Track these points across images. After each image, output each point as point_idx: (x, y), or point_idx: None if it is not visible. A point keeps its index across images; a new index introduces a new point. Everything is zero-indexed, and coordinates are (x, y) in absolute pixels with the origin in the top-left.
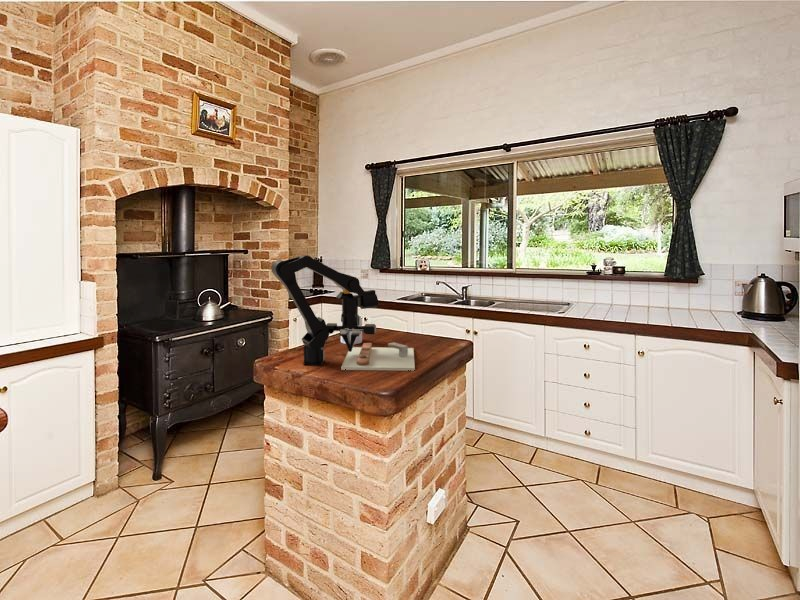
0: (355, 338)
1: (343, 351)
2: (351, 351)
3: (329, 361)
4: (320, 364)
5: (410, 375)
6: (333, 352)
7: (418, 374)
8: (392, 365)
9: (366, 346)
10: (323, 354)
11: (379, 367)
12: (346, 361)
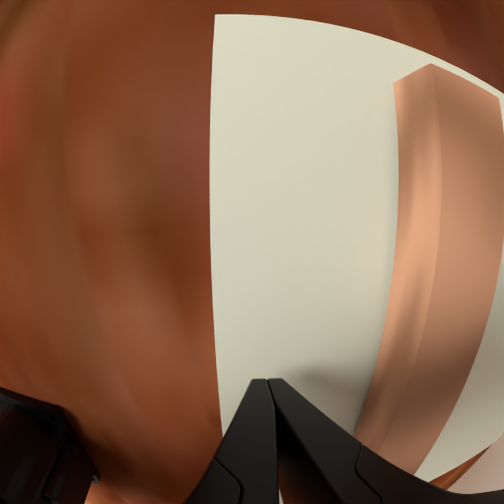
0: (410, 496)
1: (138, 101)
2: (254, 213)
3: (108, 433)
4: (98, 479)
5: (464, 467)
6: (45, 162)
7: (484, 452)
8: (461, 453)
9: (473, 264)
10: (81, 500)
11: None
12: None
